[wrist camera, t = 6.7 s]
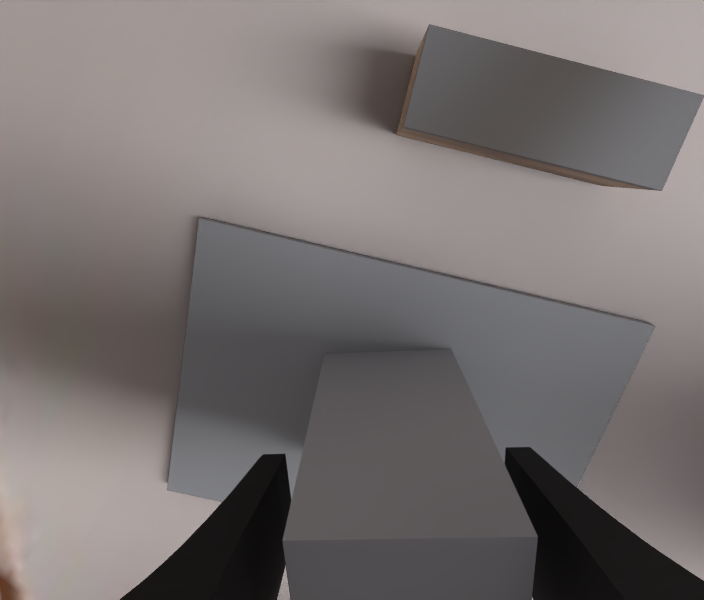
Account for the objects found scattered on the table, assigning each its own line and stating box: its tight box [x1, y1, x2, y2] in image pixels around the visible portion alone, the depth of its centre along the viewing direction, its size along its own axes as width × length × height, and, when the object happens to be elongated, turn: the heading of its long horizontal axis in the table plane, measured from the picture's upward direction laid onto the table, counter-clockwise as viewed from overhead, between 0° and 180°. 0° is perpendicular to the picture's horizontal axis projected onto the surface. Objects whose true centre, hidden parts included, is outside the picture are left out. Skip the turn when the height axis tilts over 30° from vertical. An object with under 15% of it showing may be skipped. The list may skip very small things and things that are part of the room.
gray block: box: [283, 349, 538, 600], centre depth 11 cm, size 4×4×7 cm
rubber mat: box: [167, 217, 655, 502], centre depth 14 cm, size 14×10×1 cm
